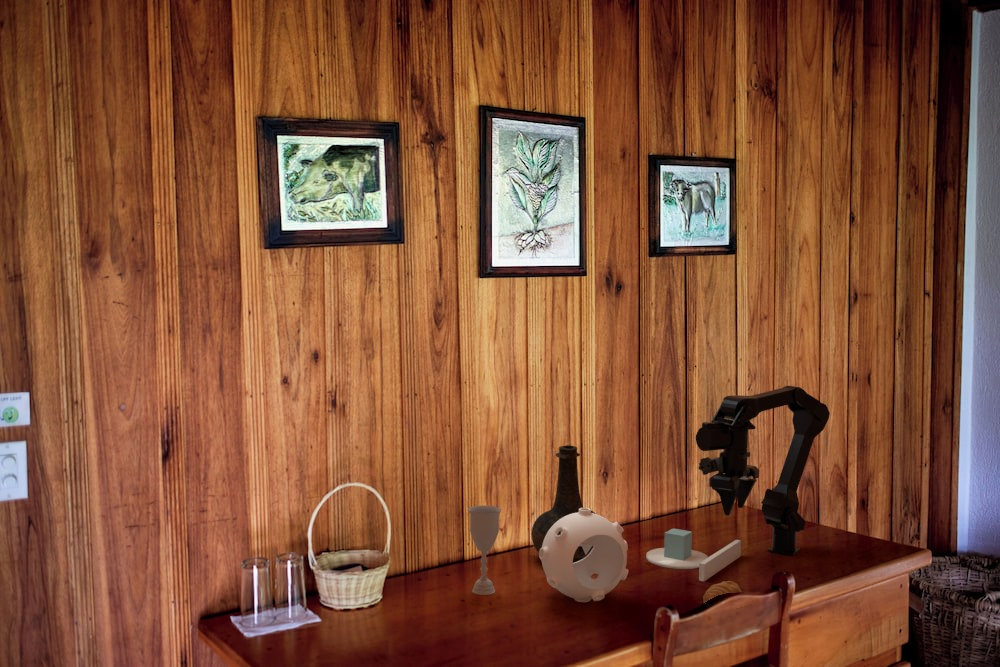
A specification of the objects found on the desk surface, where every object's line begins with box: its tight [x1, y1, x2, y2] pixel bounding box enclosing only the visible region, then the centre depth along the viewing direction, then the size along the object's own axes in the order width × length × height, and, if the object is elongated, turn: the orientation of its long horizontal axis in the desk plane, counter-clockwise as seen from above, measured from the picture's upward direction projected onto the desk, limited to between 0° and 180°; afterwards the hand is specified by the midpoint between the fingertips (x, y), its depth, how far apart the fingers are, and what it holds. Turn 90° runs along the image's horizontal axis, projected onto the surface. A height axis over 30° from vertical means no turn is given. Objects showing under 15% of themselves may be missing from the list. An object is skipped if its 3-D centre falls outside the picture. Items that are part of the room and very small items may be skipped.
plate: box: [645, 547, 709, 570], centre depth 229 cm, size 15×15×1 cm
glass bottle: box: [531, 444, 597, 563], centre depth 226 cm, size 18×18×28 cm
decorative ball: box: [538, 507, 629, 603], centre depth 199 cm, size 20×17×20 cm
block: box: [663, 528, 693, 561], centre depth 229 cm, size 5×5×6 cm
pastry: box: [702, 580, 743, 604], centre depth 200 cm, size 9×7×4 cm
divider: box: [698, 539, 742, 582], centre depth 223 cm, size 24×1×4 cm, turn 146°
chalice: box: [467, 505, 502, 596], centre depth 204 cm, size 7×7×18 cm
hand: (733, 511), depth 229 cm, fingers open, 9 cm apart
